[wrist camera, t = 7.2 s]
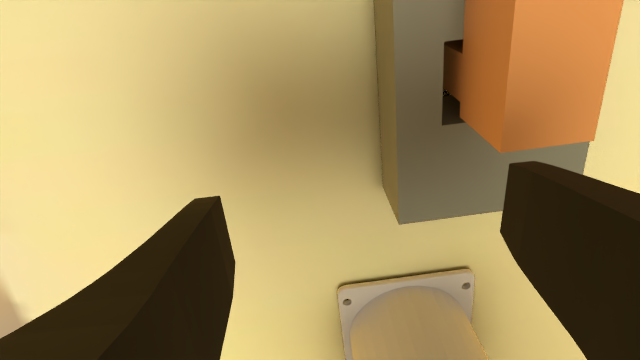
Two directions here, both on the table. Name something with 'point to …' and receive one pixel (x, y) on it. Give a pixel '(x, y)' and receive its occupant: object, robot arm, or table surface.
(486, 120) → the orange c-shaped bracket
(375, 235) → the table surface
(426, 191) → the socket rail
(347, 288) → the robot arm
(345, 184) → the table surface
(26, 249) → the table surface
